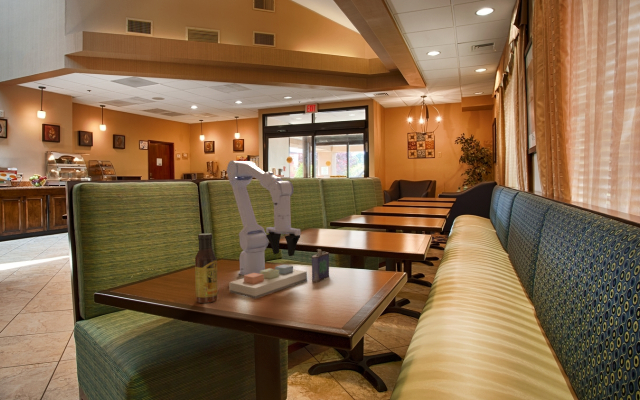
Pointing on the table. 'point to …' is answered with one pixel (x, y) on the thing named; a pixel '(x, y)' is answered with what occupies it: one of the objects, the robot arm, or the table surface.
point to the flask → (320, 266)
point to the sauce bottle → (206, 270)
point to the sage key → (270, 273)
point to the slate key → (284, 269)
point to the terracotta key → (253, 278)
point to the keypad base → (267, 284)
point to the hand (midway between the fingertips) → (283, 254)
